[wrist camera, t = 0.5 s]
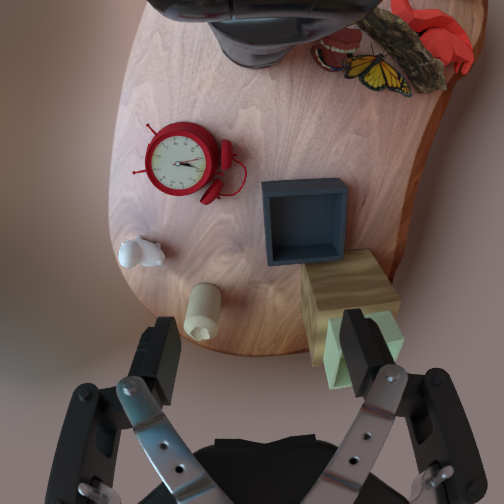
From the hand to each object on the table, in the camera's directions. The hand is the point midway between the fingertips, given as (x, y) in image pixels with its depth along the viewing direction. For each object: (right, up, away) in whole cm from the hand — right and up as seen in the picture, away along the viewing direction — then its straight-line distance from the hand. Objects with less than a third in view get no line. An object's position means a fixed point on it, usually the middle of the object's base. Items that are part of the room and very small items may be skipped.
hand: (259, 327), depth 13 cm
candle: (-9, -4, +39) cm, 40 cm away
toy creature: (-18, +5, +34) cm, 38 cm away
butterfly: (+16, +30, +17) cm, 38 cm away
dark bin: (+7, +9, +31) cm, 33 cm away
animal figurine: (+25, +36, +15) cm, 47 cm away
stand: (+14, -1, +38) cm, 40 cm away
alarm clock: (-8, +17, +27) cm, 33 cm away
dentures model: (+10, +28, +11) cm, 32 cm away
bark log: (+20, +33, +17) cm, 42 cm away
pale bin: (+15, -9, +26) cm, 31 cm away
